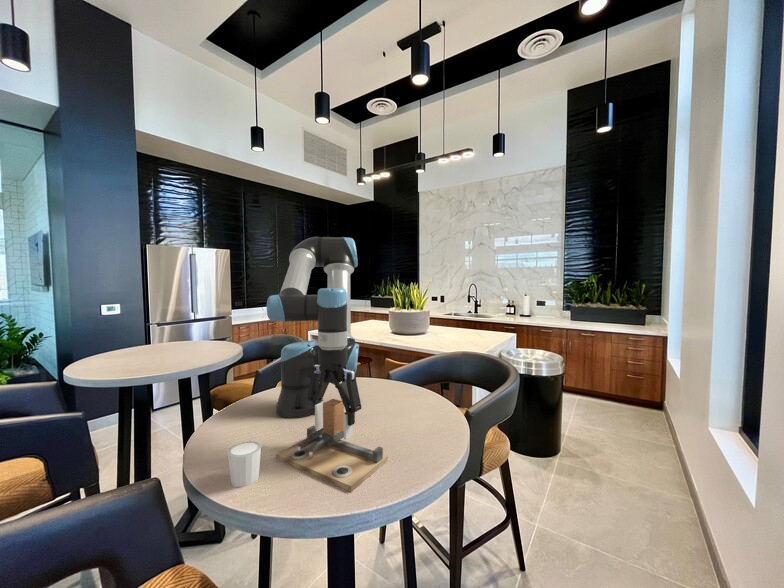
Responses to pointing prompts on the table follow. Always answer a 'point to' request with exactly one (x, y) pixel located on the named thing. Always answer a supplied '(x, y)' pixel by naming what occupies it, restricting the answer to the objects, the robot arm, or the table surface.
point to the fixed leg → (310, 440)
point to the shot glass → (244, 463)
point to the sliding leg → (331, 424)
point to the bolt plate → (335, 461)
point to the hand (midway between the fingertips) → (333, 432)
